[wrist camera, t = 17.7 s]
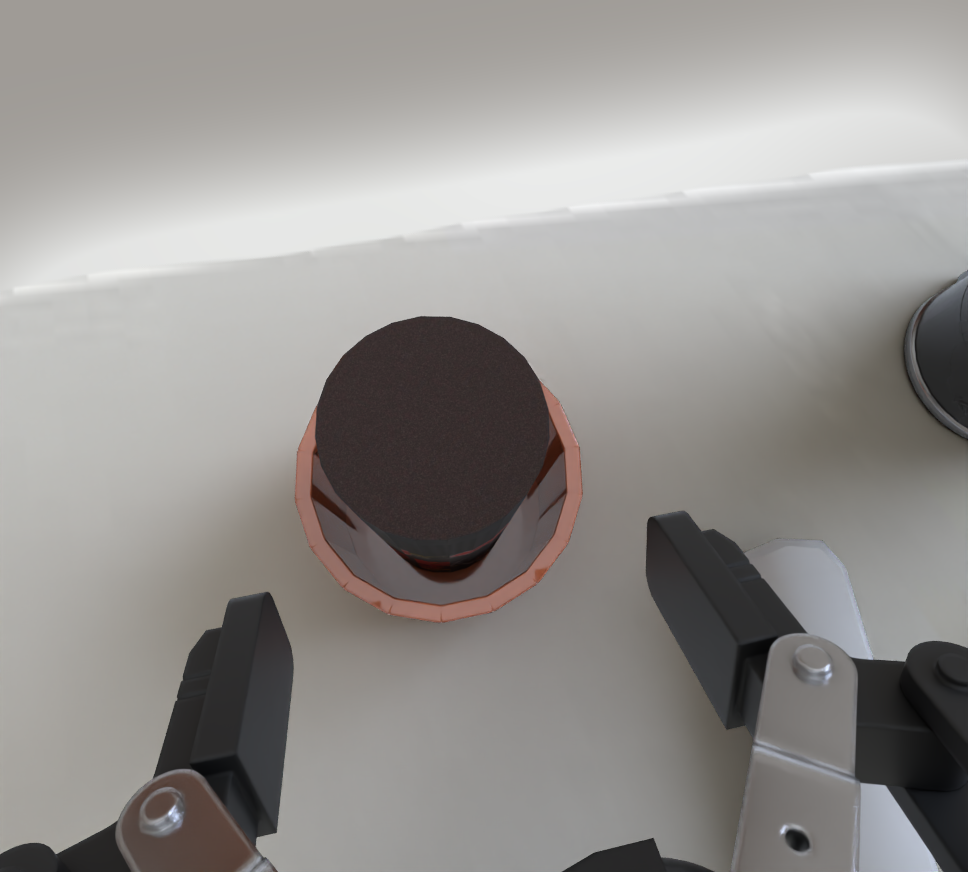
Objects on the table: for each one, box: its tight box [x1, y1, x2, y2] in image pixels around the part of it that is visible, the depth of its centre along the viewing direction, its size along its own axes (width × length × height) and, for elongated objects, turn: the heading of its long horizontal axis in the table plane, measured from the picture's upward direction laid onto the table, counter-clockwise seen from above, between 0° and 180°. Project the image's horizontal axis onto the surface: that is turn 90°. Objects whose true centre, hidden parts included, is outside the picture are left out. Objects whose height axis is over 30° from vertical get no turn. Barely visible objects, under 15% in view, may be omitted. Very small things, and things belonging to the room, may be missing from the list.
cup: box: [295, 380, 583, 623], centre depth 27 cm, size 10×10×8 cm
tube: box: [744, 538, 938, 872], centre depth 26 cm, size 5×5×25 cm
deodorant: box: [315, 316, 550, 572], centre depth 23 cm, size 6×6×15 cm
